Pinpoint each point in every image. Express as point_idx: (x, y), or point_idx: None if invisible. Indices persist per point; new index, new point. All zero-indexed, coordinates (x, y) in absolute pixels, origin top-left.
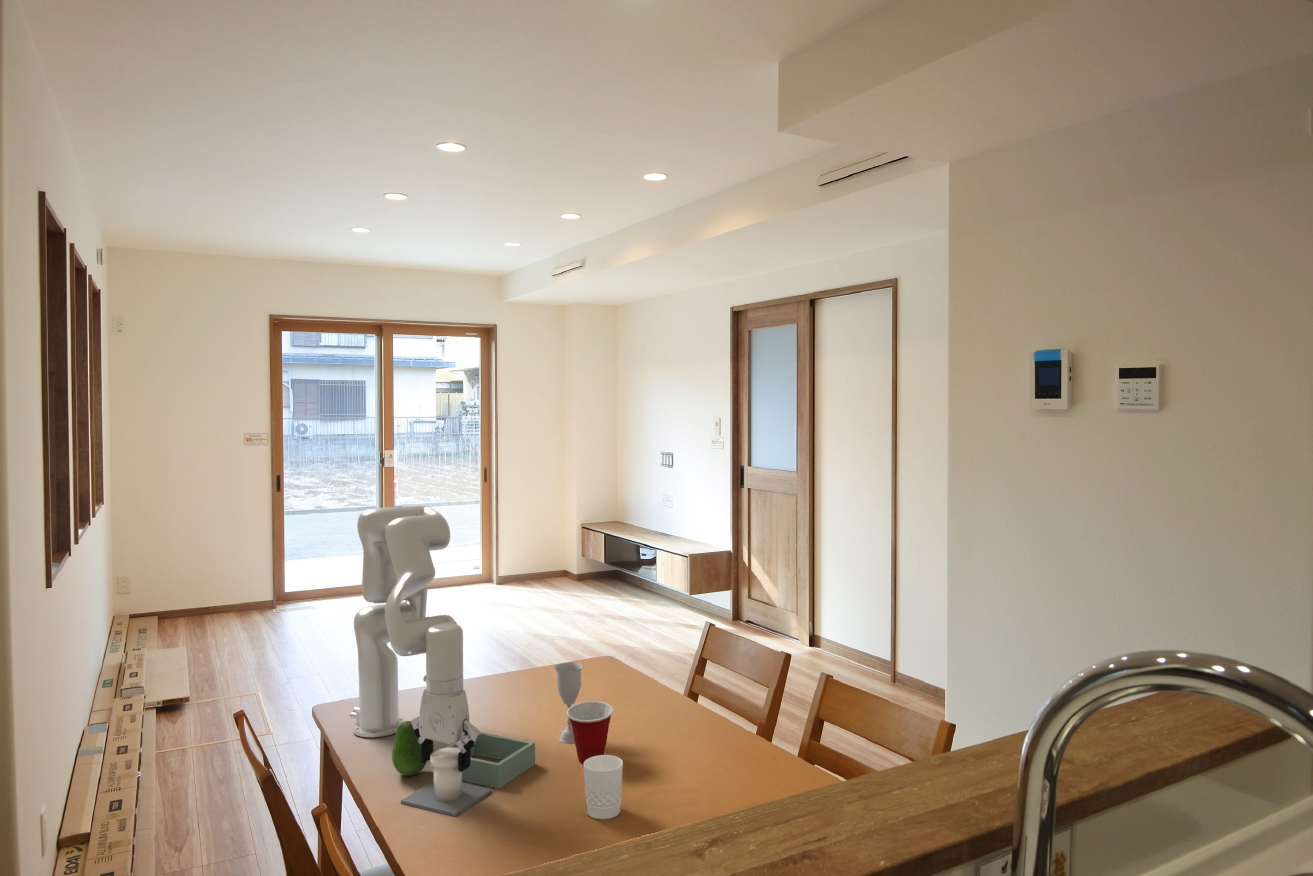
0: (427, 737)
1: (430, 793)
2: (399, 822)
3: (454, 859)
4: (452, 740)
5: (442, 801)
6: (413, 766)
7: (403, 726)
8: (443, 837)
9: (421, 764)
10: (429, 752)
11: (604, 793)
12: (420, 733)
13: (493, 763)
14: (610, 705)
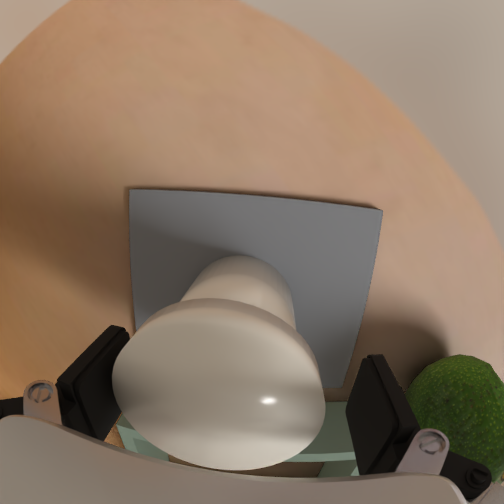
0: (353, 490)
1: (310, 294)
2: (293, 84)
3: (47, 32)
4: (10, 429)
5: (227, 254)
6: (428, 380)
7: None
8: (102, 74)
9: (409, 400)
10: (361, 417)
11: None
12: (447, 492)
13: (141, 436)
14: None
